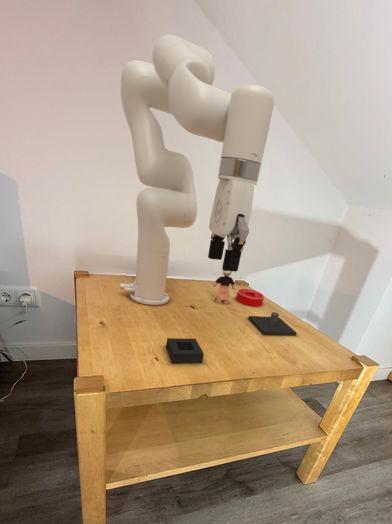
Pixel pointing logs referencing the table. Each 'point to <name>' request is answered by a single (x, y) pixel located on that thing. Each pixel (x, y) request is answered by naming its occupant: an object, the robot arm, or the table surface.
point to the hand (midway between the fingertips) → (221, 264)
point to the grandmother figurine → (224, 286)
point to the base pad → (272, 325)
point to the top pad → (184, 350)
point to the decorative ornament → (250, 297)
